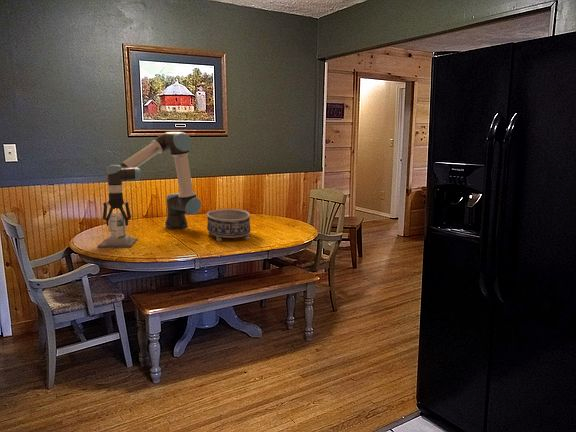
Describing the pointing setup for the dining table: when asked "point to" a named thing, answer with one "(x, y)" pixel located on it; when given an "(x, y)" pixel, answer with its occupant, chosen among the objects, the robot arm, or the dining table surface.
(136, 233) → the dining table surface
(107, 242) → the mount plate
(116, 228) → the syrup box
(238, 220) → the decorative bowl
